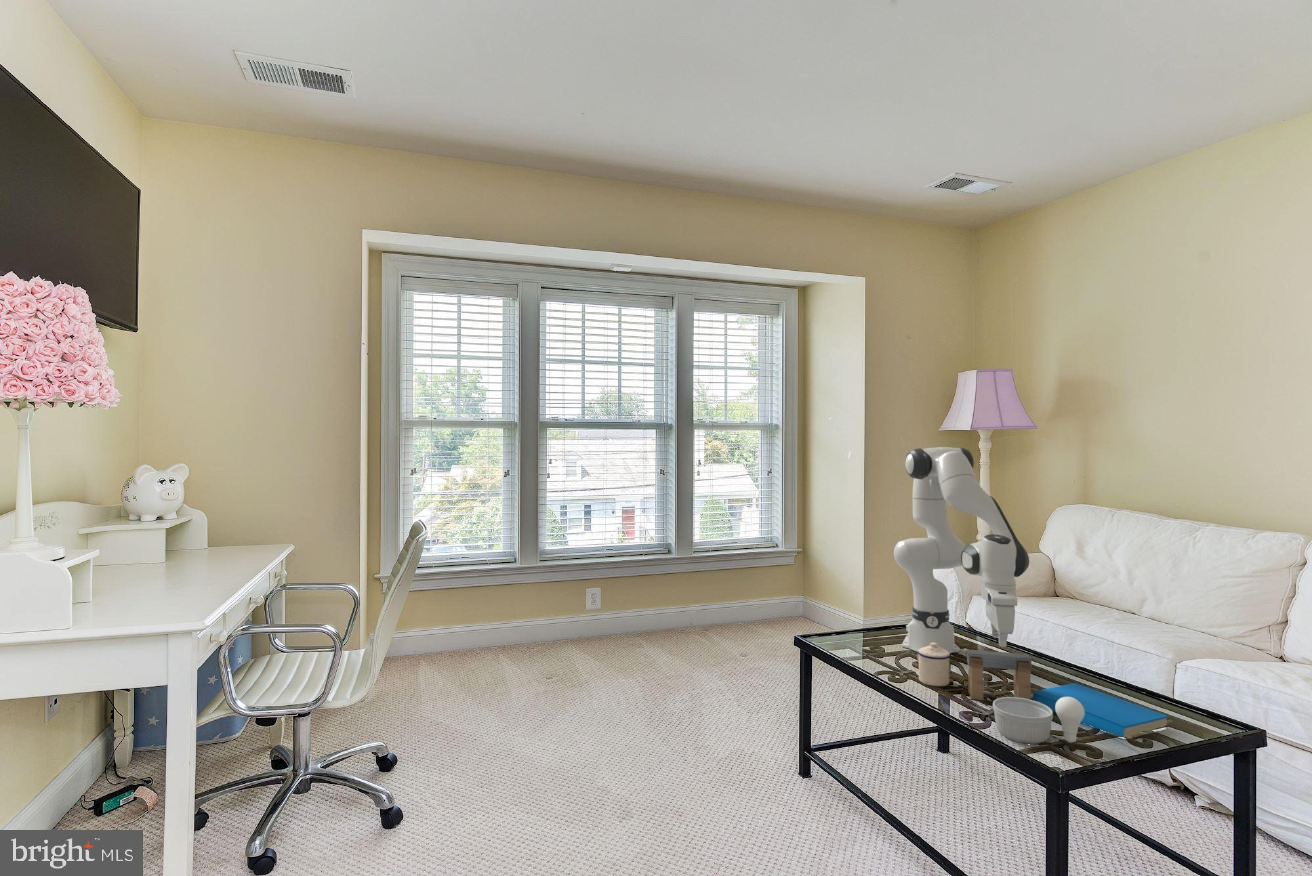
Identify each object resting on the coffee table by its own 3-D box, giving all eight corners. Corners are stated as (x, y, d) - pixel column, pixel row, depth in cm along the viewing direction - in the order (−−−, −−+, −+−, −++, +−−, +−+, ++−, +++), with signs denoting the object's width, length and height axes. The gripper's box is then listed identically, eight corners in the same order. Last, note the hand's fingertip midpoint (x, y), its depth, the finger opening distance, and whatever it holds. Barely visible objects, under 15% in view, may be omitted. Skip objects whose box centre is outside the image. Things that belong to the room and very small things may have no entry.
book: (1074, 682, 194) (1168, 714, 171) (1074, 697, 194) (1168, 731, 171) (1032, 691, 187) (1123, 725, 164) (1032, 706, 187) (1124, 743, 164)
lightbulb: (1050, 740, 164) (1050, 696, 164) (1063, 735, 168) (1063, 690, 168) (1076, 750, 159) (1076, 704, 159) (1089, 744, 162) (1089, 699, 162)
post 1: (968, 691, 197) (968, 652, 197) (979, 692, 196) (979, 653, 196) (971, 699, 191) (971, 658, 191) (983, 700, 190) (983, 659, 190)
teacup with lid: (956, 685, 201) (956, 646, 201) (930, 688, 199) (930, 649, 199) (931, 671, 213) (931, 635, 213) (906, 674, 211) (905, 637, 211)
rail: (966, 661, 196) (966, 649, 196) (1028, 666, 191) (1028, 654, 191) (968, 665, 192) (968, 653, 192) (1031, 671, 187) (1031, 658, 187)
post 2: (1013, 695, 193) (1013, 656, 193) (1025, 696, 192) (1025, 657, 192) (1018, 703, 187) (1018, 662, 187) (1030, 704, 186) (1030, 663, 186)
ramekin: (1012, 747, 161) (1012, 718, 161) (982, 724, 174) (981, 697, 174) (1065, 745, 162) (1065, 716, 162) (1030, 722, 175) (1030, 695, 175)
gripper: (979, 585, 202) (980, 631, 202) (992, 599, 183) (993, 650, 182) (1003, 586, 200) (1003, 632, 200) (1018, 601, 181) (1019, 652, 181)
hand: (999, 641), depth 191 cm, fingers open, 8 cm apart
